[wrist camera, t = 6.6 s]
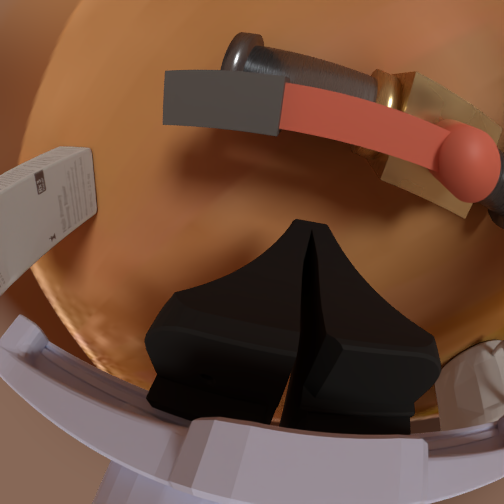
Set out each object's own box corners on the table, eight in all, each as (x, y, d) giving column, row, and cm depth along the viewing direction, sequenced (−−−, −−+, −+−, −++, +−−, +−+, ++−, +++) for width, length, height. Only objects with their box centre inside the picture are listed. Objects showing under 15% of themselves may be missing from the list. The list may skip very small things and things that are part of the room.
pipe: (508, 152, 11) (549, 178, 7) (484, 209, 14) (517, 246, 10) (255, 40, 12) (230, 23, 8) (238, 114, 15) (210, 125, 11)
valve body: (467, 119, 11) (514, 138, 7) (441, 187, 14) (477, 225, 10) (369, 68, 11) (393, 60, 7) (345, 145, 14) (358, 171, 10)
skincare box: (100, 212, 20) (-1, 308, 11) (67, 205, 21) (-26, 285, 11) (92, 143, 17) (-41, 222, 7) (58, 142, 17) (-57, 211, 7)
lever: (482, 134, 7) (508, 146, 6) (465, 191, 9) (486, 211, 7) (190, 62, 9) (165, 60, 7) (186, 126, 10) (162, 135, 9)
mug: (487, 379, 23) (499, 440, 15) (424, 394, 26) (429, 462, 18) (529, 312, 16) (559, 386, 8) (457, 328, 19) (480, 422, 11)
